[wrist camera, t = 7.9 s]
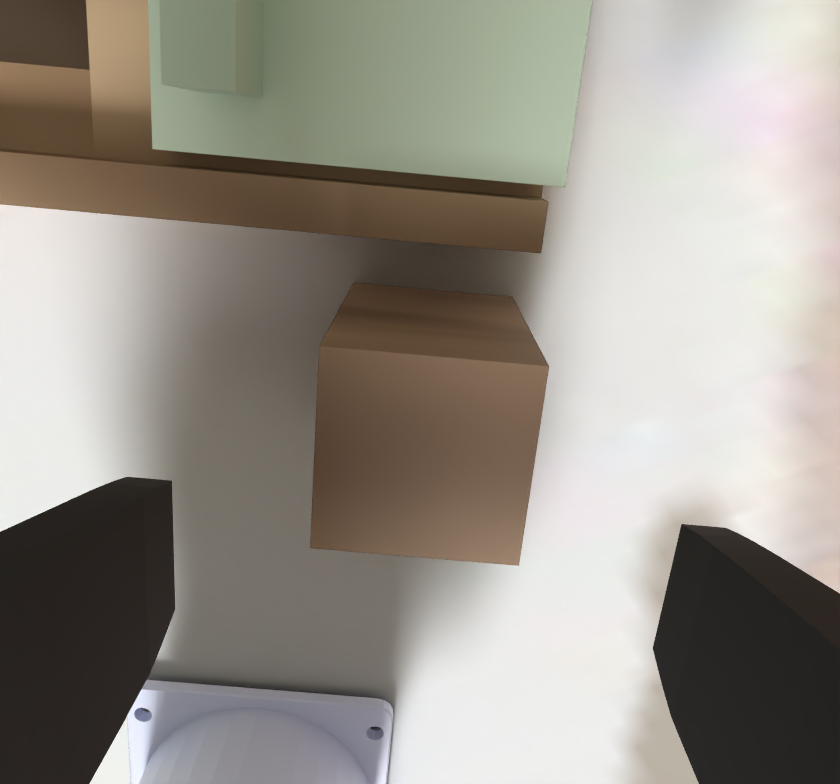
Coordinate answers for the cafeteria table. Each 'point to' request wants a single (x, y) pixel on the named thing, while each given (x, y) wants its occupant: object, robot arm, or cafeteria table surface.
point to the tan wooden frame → (193, 172)
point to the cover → (372, 83)
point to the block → (426, 425)
